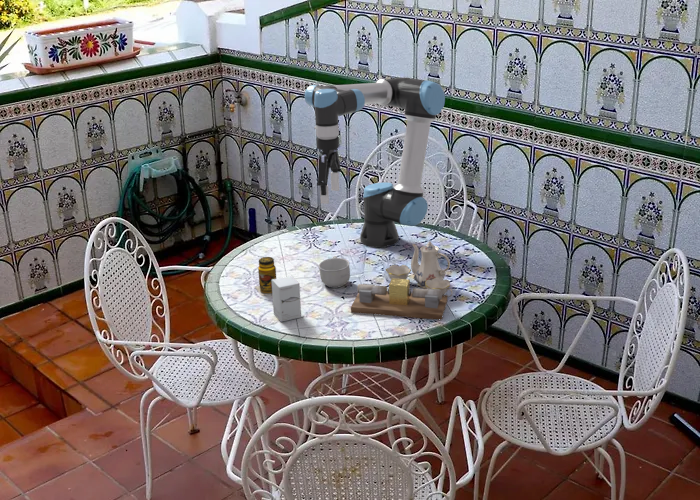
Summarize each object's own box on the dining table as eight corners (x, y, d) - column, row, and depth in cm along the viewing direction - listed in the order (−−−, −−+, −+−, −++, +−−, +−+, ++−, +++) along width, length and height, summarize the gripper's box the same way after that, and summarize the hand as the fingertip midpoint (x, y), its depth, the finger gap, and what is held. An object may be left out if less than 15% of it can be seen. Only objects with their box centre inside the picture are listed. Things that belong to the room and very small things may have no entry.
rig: (360, 294, 290) (360, 275, 288) (447, 301, 283) (447, 282, 281) (350, 312, 278) (350, 293, 275) (441, 320, 271) (441, 300, 268)
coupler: (389, 297, 283) (389, 278, 280) (412, 298, 281) (412, 279, 278) (386, 303, 278) (386, 284, 276) (409, 305, 277) (409, 286, 274)
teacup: (346, 291, 293) (346, 270, 290) (316, 289, 295) (315, 268, 292) (354, 274, 305) (353, 254, 302) (325, 273, 307) (324, 253, 304)
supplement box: (280, 322, 273) (278, 287, 268) (273, 313, 279) (270, 278, 274) (302, 318, 275) (299, 283, 271) (294, 308, 282) (292, 274, 277)
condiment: (262, 296, 291) (259, 264, 287) (254, 287, 299) (251, 256, 294) (282, 292, 294) (280, 260, 290) (273, 282, 301) (271, 252, 297)
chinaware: (378, 288, 298) (374, 247, 290) (405, 268, 309) (402, 228, 301) (445, 309, 281) (443, 266, 274) (471, 287, 293) (470, 244, 285)
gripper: (326, 126, 293) (329, 184, 301) (305, 146, 270) (309, 208, 279) (347, 127, 291) (349, 185, 299) (328, 147, 269) (331, 209, 277)
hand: (330, 196), depth 289 cm, fingers open, 13 cm apart
